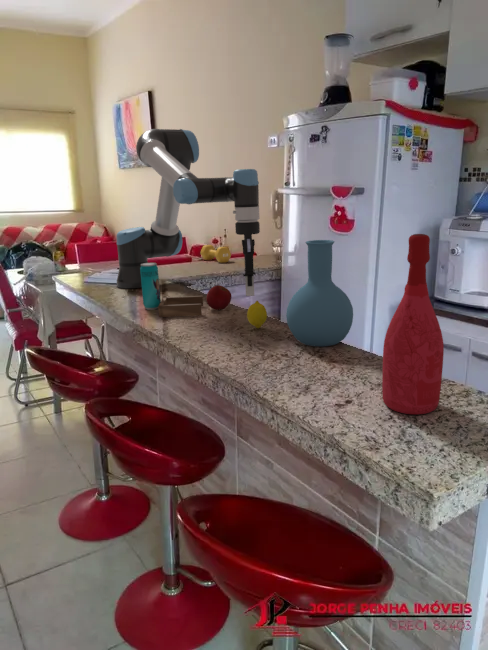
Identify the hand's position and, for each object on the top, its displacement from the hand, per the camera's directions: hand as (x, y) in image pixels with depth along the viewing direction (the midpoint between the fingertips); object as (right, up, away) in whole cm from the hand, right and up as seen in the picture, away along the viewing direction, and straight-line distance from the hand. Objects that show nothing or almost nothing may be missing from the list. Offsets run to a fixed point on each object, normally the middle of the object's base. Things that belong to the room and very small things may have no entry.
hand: (250, 295), depth 163 cm
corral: (-22, -5, +1) cm, 22 cm away
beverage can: (-33, -4, +6) cm, 34 cm away
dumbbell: (-17, +25, +109) cm, 113 cm away
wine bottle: (+27, -24, -73) cm, 82 cm away
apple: (-10, -5, +1) cm, 11 cm away
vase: (+17, -14, -35) cm, 41 cm away
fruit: (+2, -11, -22) cm, 24 cm away
